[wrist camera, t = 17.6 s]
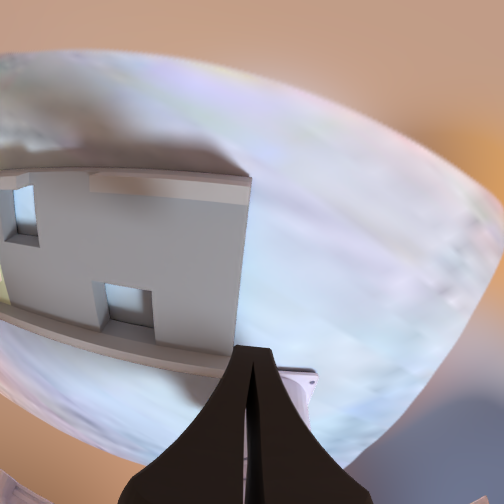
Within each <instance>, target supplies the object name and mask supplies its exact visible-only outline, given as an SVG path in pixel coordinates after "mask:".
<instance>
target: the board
mask: <svg viewBox="0 0 504 504" xmlns="http://www.w3.org/2000/svg"><path fill="white" fill-rule="evenodd" d="M251 184H252V177H243V176H234V175H224V174H213V173H202V172H190V171H176V170H160V169H140V168H109V167H54V168H26V169H8V170H0V273H1V277H2V281H1V282H0V319H1V320H3V321H6V322H8V323H10V324H13V325H15V326H18V327H20V328H23V329H25V330H28V331H30V332H33V333H36V334H38V335H41V336H44V337H47V338H50V339H53V340H55V341H58V342H61V343H64V344H68V345H71V346H74V347H77V348H80V349H84V350H87V351H91V352H94V353H98V354H101V355H105V356H109V357H113V358H116V359H120V360H124V361H129V362H133V363H137V364H142V365H146V366H151V367H156V368H161V369H166V370H171V371H177V372H182V373H188V374H194V375H201V376H207V377H214V378H222V376H223V374H224V372H225V370H226V368H227V365H228V363H229V361H230V358H231V355H232V352H233V343H234V334H235V325H236V316H237V306H238V297H239V288H240V279H241V270H242V261H243V253H244V244H245V235H246V227H247V218H248V209H249V201H250V192H251ZM29 185H34V201H35V213H36V222H37V231H38V237H37V236H30V235H23V234H18V233H17V226H16V218H15V209H14V199H13V190H17V189H20V188H23V187H26V186H29ZM105 283H108V284H113V285H119V286H124V287H130V288H136V289H142V290H148V291H152V306H153V319H154V328H149V327H144V326H139V325H134V324H129V323H124V322H119V321H115V320H110V315H109V309H108V303H107V296H106V289H105Z"/></svg>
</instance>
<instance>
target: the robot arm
mask: <svg viewBox="0 0 504 504" xmlns="http://www.w3.org/2000/svg"><path fill="white" fill-rule="evenodd" d="M318 379H319V376H318V374H317V373H309V372H290V371H278V369H277V367H276V364H275V361H274V357H273V354H272V350H271V349H270V348H261V347H251V346H242V345H236V346H234V347H233V352H232V355H231V358H230V361H229V363H228V365H227V368H226V370H225V372H224V374H223V376H222V378H221V380H220V382H219V383H218V385H217V387H216V389H215V390H214V392H213V393H212V395H211V397H210V398H209V400H208V401H207V403H206V404H205V406H204V407H203V409H202V410H201V411H200V413H199V414H198V415H197V417H196V418H195V419H194V420H193V422H192V423H191V424H190V425H189V426H188V427H187V429H186V430H185V431H184V432H183V433H182V434H181V435H180V436H179V437H178V439H177V440H176V441H175V442H174V443H173V444H172V445H170V446H169V447H168V448H167V449H166V450H165V451H164V452H163V453H162V454H161V455H160V456H159V457H157V458H156V459H155V460H154V461H153V462H152V463H150V464H149V465H148V466H146V467H145V468H144V469H142V470H141V471H140V472H138V473H137V474H136V475H134V476H133V477H132V478H131V479H130V481H129V482H128V483H127V485H126V486H125V488H124V490H123V491H122V493H121V495H120V498H119V500H118V504H373V502H372V499H371V496H370V494H369V491H367V490H366V489H365V488H364V487H362V486H361V485H360V484H359V483H357V482H356V481H355V480H354V479H353V478H352V477H351V476H349V475H348V474H347V473H346V472H345V471H344V470H343V469H342V468H341V467H340V466H339V465H338V464H337V463H336V462H335V461H334V460H333V458H332V457H331V456H330V455H329V454H328V453H327V452H326V451H325V449H324V448H323V447H322V446H321V445H320V444H319V442H318V441H317V440H316V438H315V437H314V436H313V434H312V433H311V427H310V419H309V411H308V404H309V402H310V399H311V397H312V394H313V392H314V389H315V387H316V384H317V382H318ZM0 504H54V503H52V502H50V501H48V500H46V499H44V498H43V497H41V496H39V495H37V494H36V493H34V492H32V491H30V490H29V489H27V488H26V487H24V486H22V485H21V484H19V483H18V482H16V480H15V479H13V478H12V477H11V476H10V475H8V474H7V473H5V472H4V471H3V470H1V469H0ZM470 504H489V502H488V499H487V496H483V497H481V498H480V499H478V500H476V501H474V502H472V503H470Z"/></svg>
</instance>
